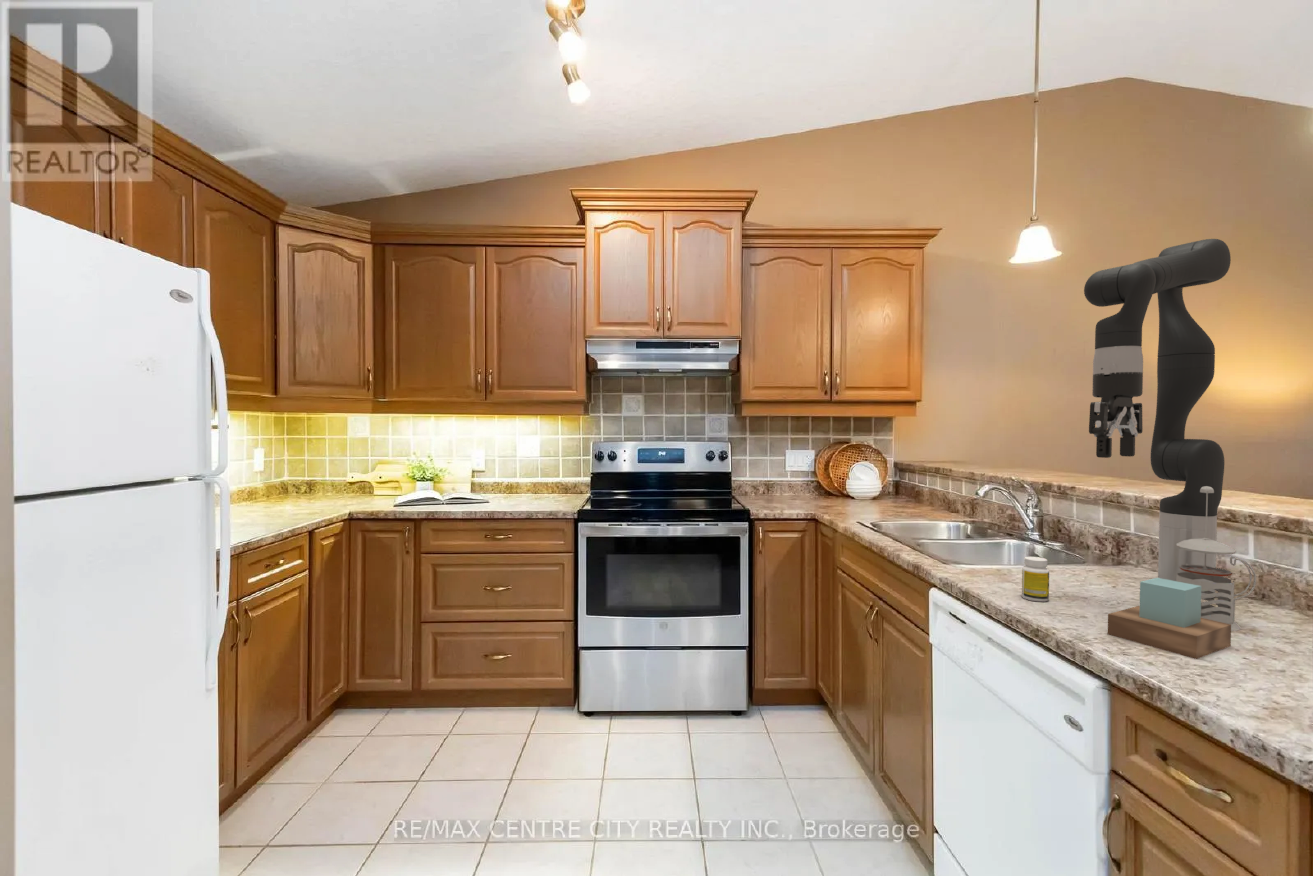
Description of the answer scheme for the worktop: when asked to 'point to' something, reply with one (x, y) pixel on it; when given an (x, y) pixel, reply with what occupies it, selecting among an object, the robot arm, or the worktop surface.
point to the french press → (1213, 577)
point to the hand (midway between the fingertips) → (1115, 456)
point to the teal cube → (1170, 602)
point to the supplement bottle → (1035, 579)
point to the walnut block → (1170, 633)
